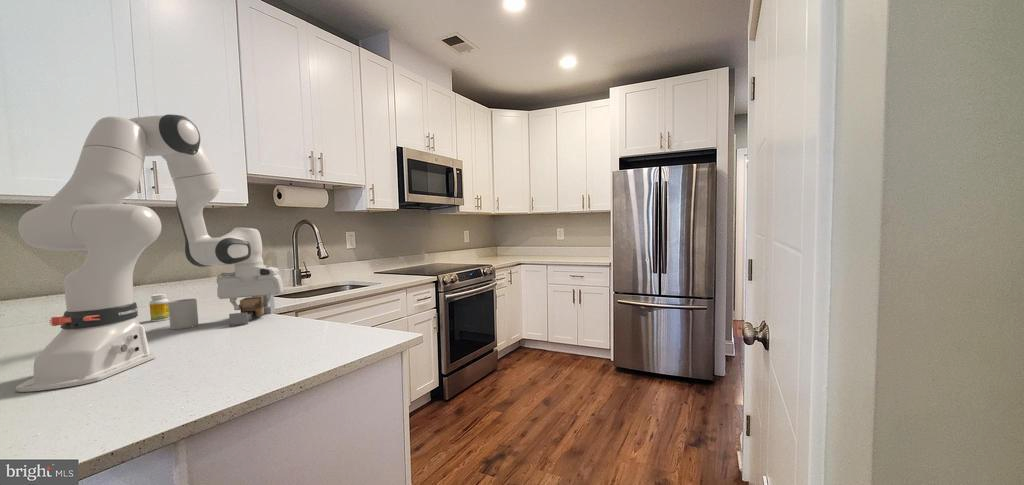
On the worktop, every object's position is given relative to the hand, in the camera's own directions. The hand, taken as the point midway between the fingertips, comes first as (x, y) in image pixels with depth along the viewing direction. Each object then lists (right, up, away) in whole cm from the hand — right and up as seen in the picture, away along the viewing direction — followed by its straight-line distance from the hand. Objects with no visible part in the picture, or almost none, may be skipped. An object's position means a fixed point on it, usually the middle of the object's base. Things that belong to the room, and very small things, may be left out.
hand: (252, 308), depth 137 cm
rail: (+1, -3, -4) cm, 5 cm away
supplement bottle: (-36, -5, +2) cm, 36 cm away
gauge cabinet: (0, -3, +7) cm, 7 cm away
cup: (-17, -5, -9) cm, 20 cm away
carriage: (0, -3, 0) cm, 3 cm away
